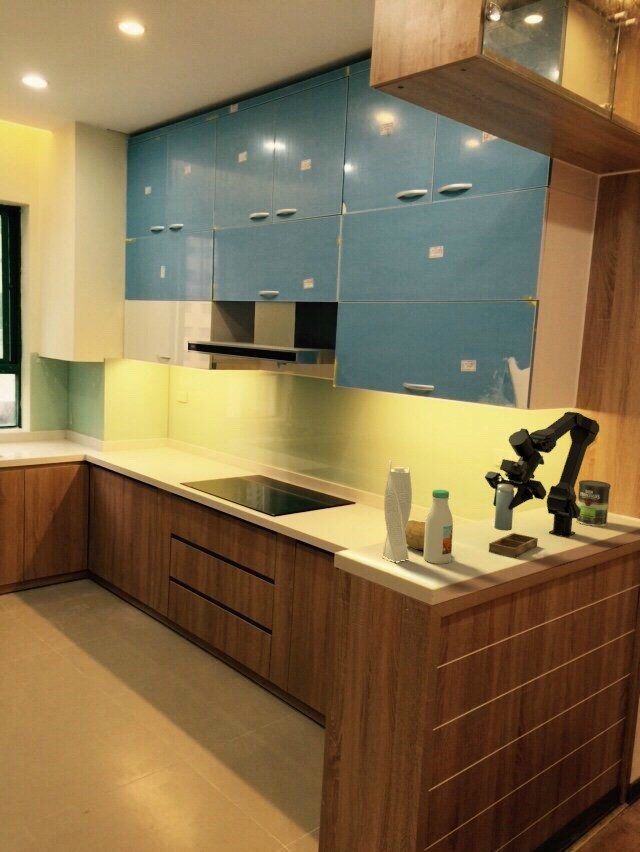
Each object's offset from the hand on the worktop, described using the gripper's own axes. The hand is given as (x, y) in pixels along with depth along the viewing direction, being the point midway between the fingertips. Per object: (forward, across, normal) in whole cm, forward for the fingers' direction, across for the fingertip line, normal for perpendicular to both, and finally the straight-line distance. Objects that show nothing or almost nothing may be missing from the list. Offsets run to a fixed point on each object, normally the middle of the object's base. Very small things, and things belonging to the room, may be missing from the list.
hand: (501, 507), depth 211 cm
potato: (+22, -16, -3) cm, 28 cm away
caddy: (+6, +1, +13) cm, 15 cm away
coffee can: (-29, -2, +49) cm, 57 cm away
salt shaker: (+4, 0, +6) cm, 7 cm away
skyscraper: (+32, -12, -13) cm, 37 cm away
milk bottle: (+25, -5, -6) cm, 26 cm away
